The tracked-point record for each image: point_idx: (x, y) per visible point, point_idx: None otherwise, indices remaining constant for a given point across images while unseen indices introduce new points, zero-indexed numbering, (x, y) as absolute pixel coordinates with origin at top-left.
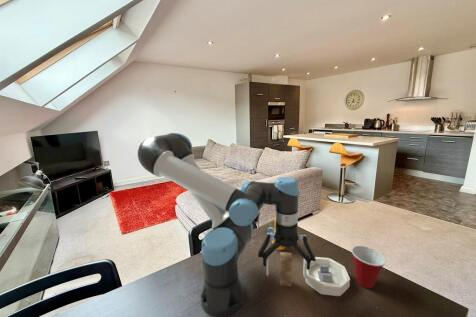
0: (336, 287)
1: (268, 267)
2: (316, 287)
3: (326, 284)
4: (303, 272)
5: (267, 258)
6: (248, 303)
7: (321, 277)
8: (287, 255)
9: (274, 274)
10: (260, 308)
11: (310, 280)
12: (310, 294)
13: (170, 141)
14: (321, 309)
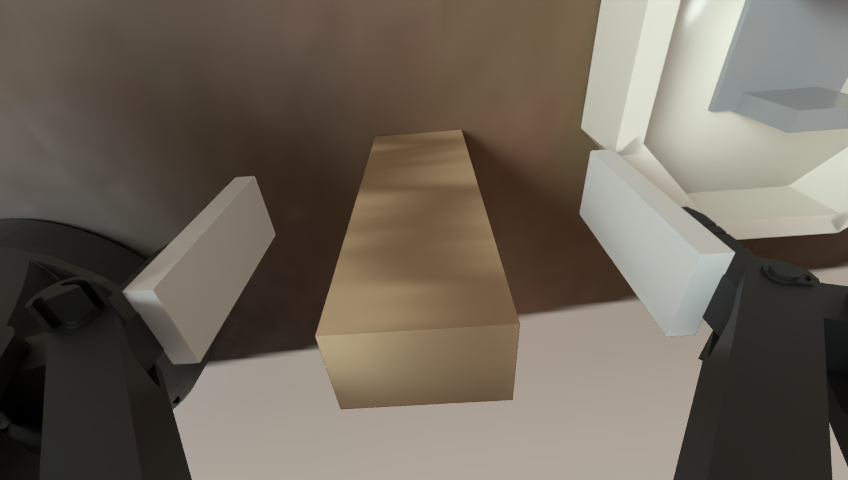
0: (803, 231)
1: (243, 257)
2: None
3: (741, 226)
4: (596, 175)
5: (175, 345)
6: (238, 324)
7: (749, 67)
8: (446, 380)
9: (318, 79)
10: (305, 335)
11: None
12: (580, 217)
13: None
14: (608, 291)
